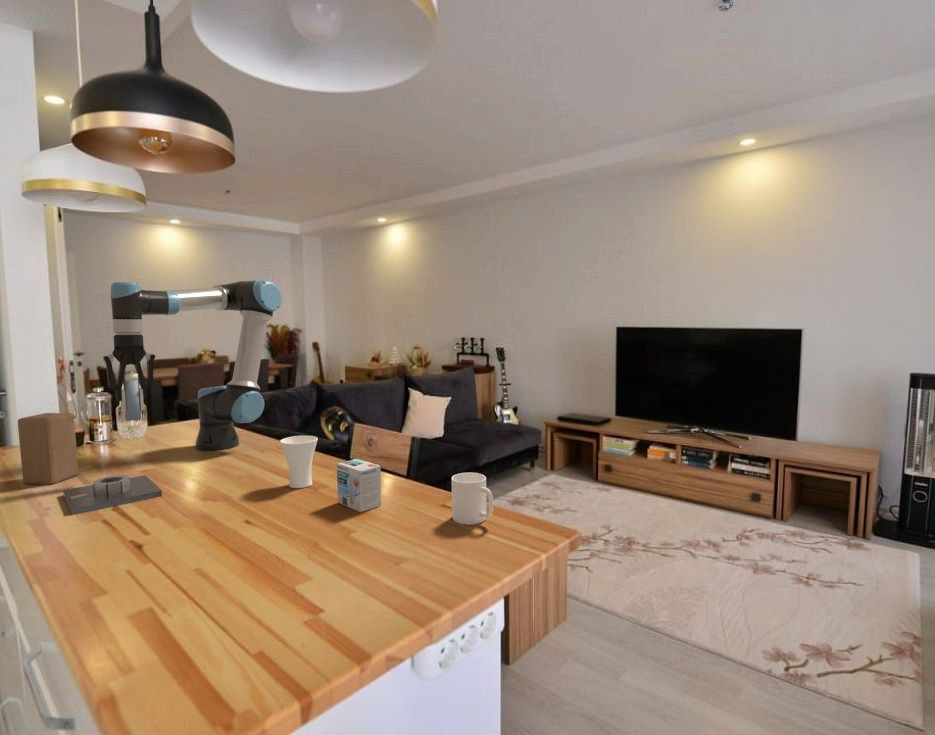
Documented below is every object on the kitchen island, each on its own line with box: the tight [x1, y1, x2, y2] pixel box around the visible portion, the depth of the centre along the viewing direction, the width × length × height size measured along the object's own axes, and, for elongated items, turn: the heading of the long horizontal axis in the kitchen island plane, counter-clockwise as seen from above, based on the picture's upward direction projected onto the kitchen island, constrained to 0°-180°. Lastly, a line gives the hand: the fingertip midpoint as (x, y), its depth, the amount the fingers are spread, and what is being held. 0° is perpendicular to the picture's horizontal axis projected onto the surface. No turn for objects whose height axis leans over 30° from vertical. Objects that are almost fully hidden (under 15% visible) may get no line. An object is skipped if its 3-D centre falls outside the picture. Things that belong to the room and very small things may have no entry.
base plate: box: [62, 474, 163, 516], centre depth 145 cm, size 20×20×4 cm
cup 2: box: [451, 472, 495, 526], centre depth 124 cm, size 8×12×10 cm
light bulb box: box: [336, 458, 382, 513], centre depth 136 cm, size 11×7×11 cm, turn 47°
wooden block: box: [17, 412, 79, 485], centre depth 159 cm, size 10×10×20 cm
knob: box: [122, 370, 142, 421], centre depth 159 cm, size 4×4×15 cm
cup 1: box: [279, 435, 319, 489], centre depth 152 cm, size 10×10×14 cm
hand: (132, 410), depth 159 cm, fingers closed on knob, 4 cm apart
